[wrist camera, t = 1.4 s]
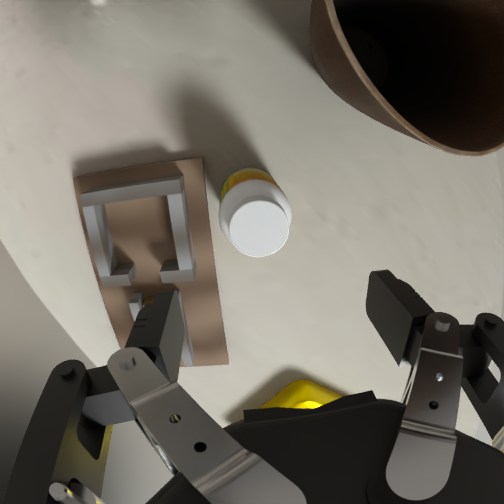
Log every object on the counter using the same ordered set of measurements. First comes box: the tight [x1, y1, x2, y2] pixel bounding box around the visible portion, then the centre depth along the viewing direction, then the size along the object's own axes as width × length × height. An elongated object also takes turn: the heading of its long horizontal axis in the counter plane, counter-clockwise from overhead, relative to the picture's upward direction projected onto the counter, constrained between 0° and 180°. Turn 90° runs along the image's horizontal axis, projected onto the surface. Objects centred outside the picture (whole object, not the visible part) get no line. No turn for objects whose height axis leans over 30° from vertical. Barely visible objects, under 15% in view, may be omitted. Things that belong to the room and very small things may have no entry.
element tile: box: [259, 380, 343, 409], centre depth 42 cm, size 15×15×5 cm
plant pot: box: [310, 0, 504, 157], centre depth 17 cm, size 15×15×16 cm
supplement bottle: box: [219, 168, 291, 257], centre depth 25 cm, size 5×5×10 cm
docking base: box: [73, 157, 229, 367], centre depth 30 cm, size 24×13×3 cm, turn 4°
